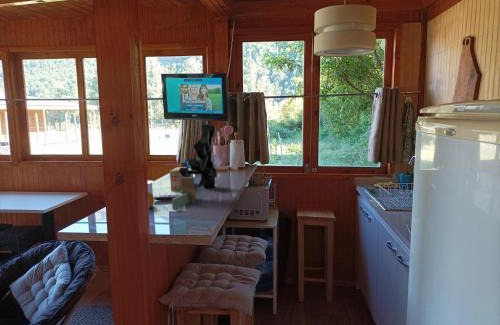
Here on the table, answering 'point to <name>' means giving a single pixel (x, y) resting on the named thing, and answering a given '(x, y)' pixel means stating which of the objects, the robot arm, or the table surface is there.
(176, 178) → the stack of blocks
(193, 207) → the table surface
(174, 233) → the table surface
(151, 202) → the fruit
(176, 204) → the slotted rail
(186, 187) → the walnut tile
